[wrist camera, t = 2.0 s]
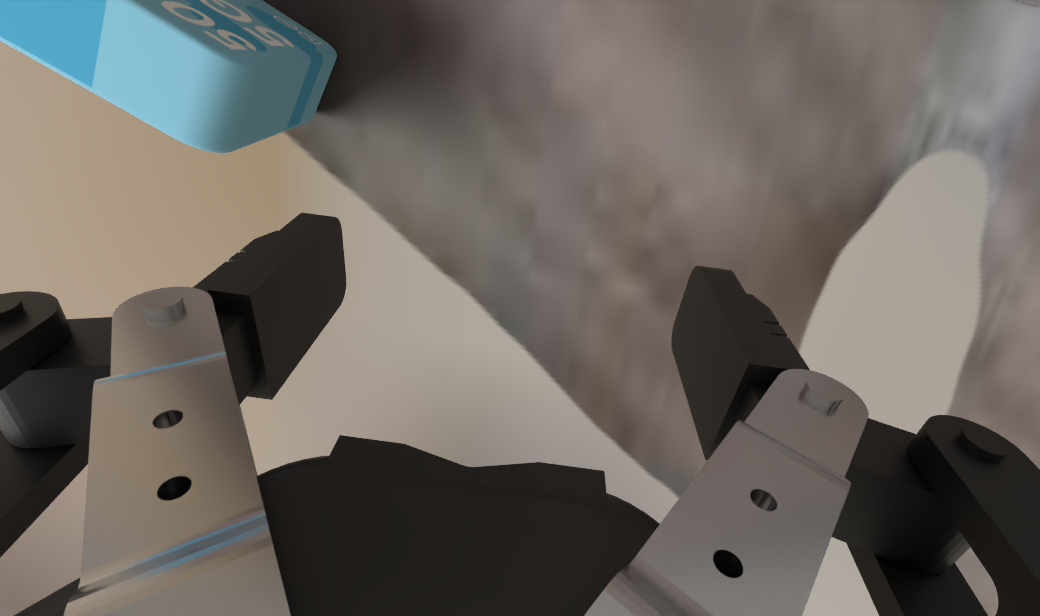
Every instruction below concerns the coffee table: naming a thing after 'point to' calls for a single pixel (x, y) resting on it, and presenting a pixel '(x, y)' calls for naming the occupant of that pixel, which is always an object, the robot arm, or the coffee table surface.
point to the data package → (181, 62)
